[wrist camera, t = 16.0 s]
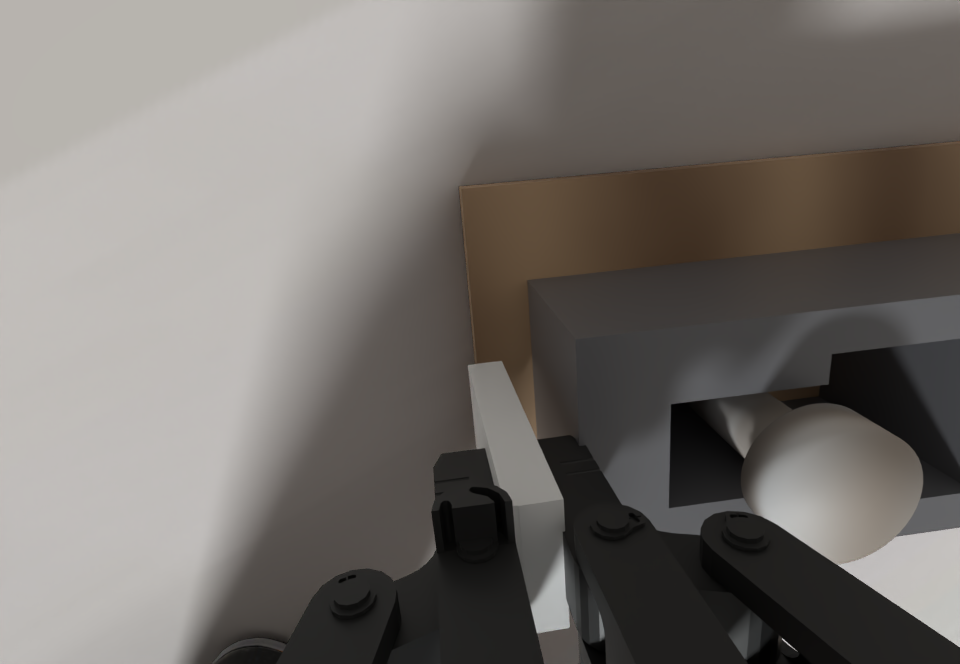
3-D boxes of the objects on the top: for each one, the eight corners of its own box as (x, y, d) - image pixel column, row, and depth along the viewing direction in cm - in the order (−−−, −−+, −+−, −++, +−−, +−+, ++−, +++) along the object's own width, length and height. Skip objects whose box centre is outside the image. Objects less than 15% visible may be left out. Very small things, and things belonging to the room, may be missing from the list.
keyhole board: (489, 526, 20) (532, 771, 12) (458, 186, 17) (491, 218, 8) (1097, 446, 22) (1491, 618, 14) (1194, 119, 18) (1814, 92, 10)
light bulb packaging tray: (538, 458, 18) (591, 601, 12) (527, 280, 16) (583, 348, 11) (1154, 379, 20) (1460, 473, 14) (1209, 205, 18) (1588, 231, 12)
